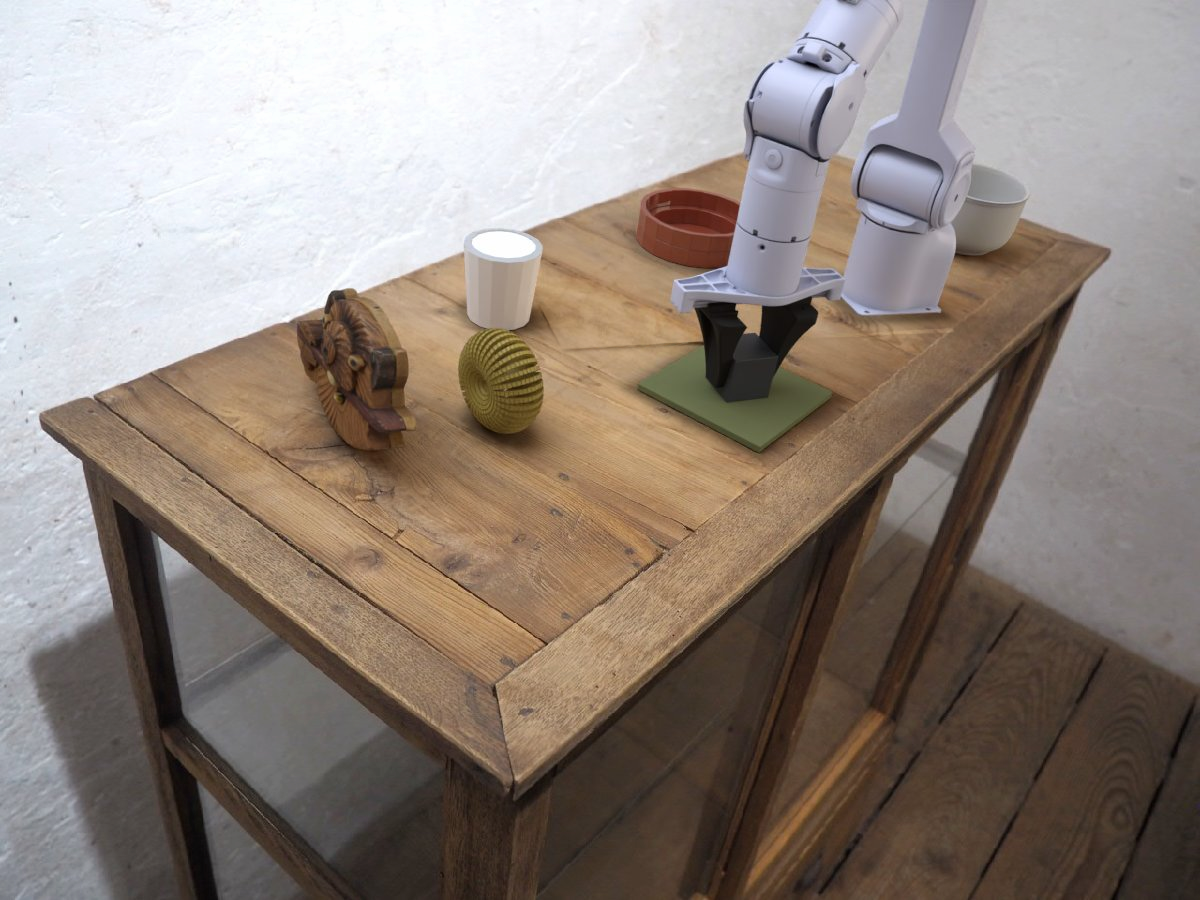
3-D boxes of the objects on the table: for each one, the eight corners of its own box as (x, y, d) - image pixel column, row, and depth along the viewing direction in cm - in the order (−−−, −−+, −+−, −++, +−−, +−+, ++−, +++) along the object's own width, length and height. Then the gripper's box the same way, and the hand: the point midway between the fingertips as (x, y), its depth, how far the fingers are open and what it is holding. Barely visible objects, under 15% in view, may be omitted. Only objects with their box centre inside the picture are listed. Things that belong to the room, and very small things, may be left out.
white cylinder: (525, 340, 91) (532, 267, 87) (450, 324, 92) (453, 251, 88) (544, 305, 97) (551, 235, 93) (473, 291, 98) (477, 221, 94)
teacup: (1017, 245, 123) (1041, 180, 118) (992, 275, 115) (1018, 206, 110) (904, 209, 128) (923, 145, 124) (873, 235, 120) (893, 167, 116)
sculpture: (446, 407, 82) (449, 316, 77) (488, 393, 84) (494, 304, 79) (506, 460, 77) (513, 367, 72) (549, 444, 79) (559, 352, 75)
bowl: (722, 221, 118) (728, 187, 116) (767, 270, 109) (775, 235, 107) (620, 223, 115) (624, 188, 112) (657, 274, 105) (664, 237, 103)
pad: (715, 342, 95) (716, 336, 95) (831, 397, 90) (833, 391, 89) (636, 389, 87) (637, 383, 87) (758, 453, 82) (760, 446, 81)
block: (745, 372, 90) (755, 332, 88) (768, 397, 87) (778, 356, 85) (704, 377, 89) (713, 336, 87) (726, 403, 86) (735, 361, 84)
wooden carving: (276, 381, 82) (267, 264, 76) (330, 367, 84) (326, 253, 79) (378, 496, 72) (377, 372, 66) (436, 477, 74) (440, 355, 69)
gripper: (826, 202, 85) (789, 346, 93) (666, 209, 80) (640, 361, 88) (875, 239, 80) (831, 389, 88) (707, 249, 75) (676, 408, 83)
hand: (738, 378), depth 88 cm, fingers closed on block, 4 cm apart
